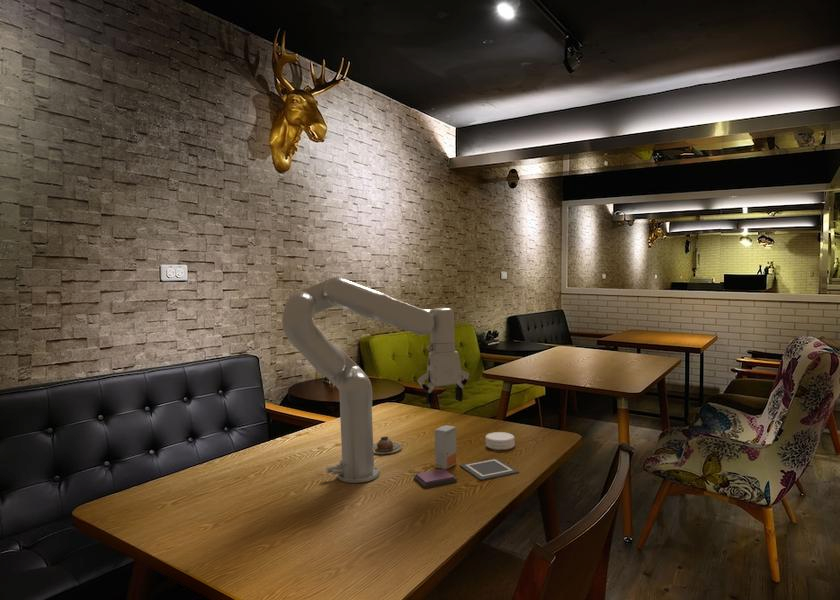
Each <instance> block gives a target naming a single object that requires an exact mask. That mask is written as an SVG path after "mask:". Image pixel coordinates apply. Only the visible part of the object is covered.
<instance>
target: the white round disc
mask: <svg viewBox="0 0 840 600" xmlns="http://www.w3.org/2000/svg"><path fill="white" fill-rule="evenodd" d="M515 442H516V441H515V435H513V434H511V433H510V432H503V431H497V432H489V433H487V434H486V435H485V446H486V447H487V448H488V449H492V450H499V451H503V450H504V451H505V450H510V449H513V448H514V447H515V444H516V443H515Z"/></svg>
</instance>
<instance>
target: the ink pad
mask: <svg viewBox="0 0 840 600" xmlns="http://www.w3.org/2000/svg"><path fill="white" fill-rule="evenodd" d="M413 479H414V480H415V481H416V482H417V483H418V484H419V485H420V486H422V487H423V488H424V489H428V488H432V487H438V486H443V485H447V484H452V483H457V482H458V481H457V477H456V476H454V475H453V474H452V473H450V472H449V471H448V470H447V469H442V468H439V469H434V470H430V471H429V470H428V471H423V472H419V473H416V474H415V475H413Z"/></svg>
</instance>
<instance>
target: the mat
mask: <svg viewBox="0 0 840 600" xmlns="http://www.w3.org/2000/svg"><path fill="white" fill-rule="evenodd" d="M459 467H460V468H461V469H463V470H465V471H466V472H468V473H469V474H471V476H473V477H475V478H476V479H478V480H479V481H480V482H481V481H487V480H489V479H490V480H491V479H496V478H500V477H505V476H511V475H515V474H519V473H520V472H519V470H517V469H515V468H514V467H512V466H510V465H508V464H507V463H505V462H504V461H501V460H500V459H499V458H489V459H485V460H480V461H474V462H469V463H465V464H460V465H459Z"/></svg>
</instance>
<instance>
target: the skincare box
mask: <svg viewBox="0 0 840 600" xmlns="http://www.w3.org/2000/svg"><path fill="white" fill-rule="evenodd" d="M434 449H435V451H434V452H435V453H434V457H435V459H434V460H435V462H434V463H435V468H437V469H438V468H439V469H445V470H447V469H449V468H451V467H453V466H455V465H457V427H456V426H453V425H447V424H445V425H443V426H439V427H438V428H435V429H434Z"/></svg>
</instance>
